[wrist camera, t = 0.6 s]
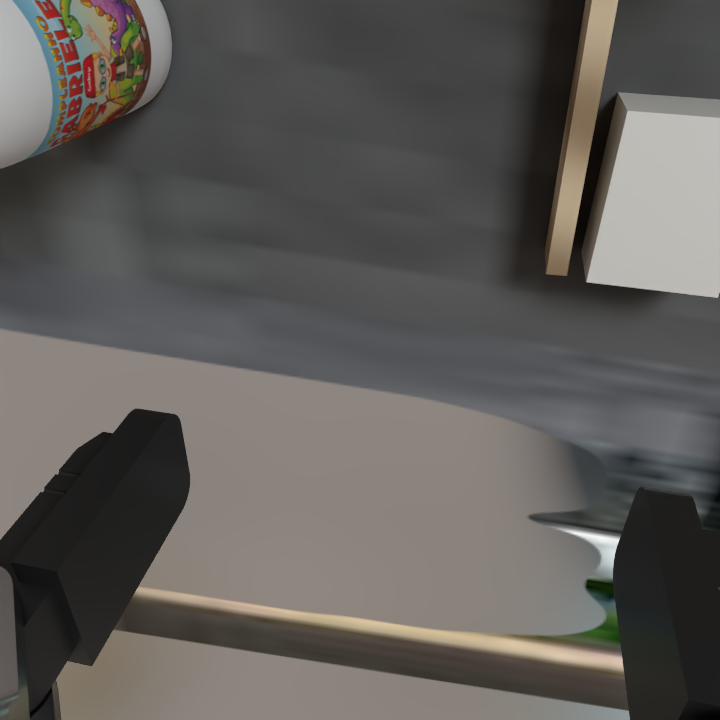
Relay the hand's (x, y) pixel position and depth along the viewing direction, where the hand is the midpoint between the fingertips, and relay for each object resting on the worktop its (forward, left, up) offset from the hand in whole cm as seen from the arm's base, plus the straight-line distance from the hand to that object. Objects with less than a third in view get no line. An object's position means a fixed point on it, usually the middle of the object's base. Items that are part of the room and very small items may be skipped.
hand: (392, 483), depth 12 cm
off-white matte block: (+2, +9, -26) cm, 28 cm away
